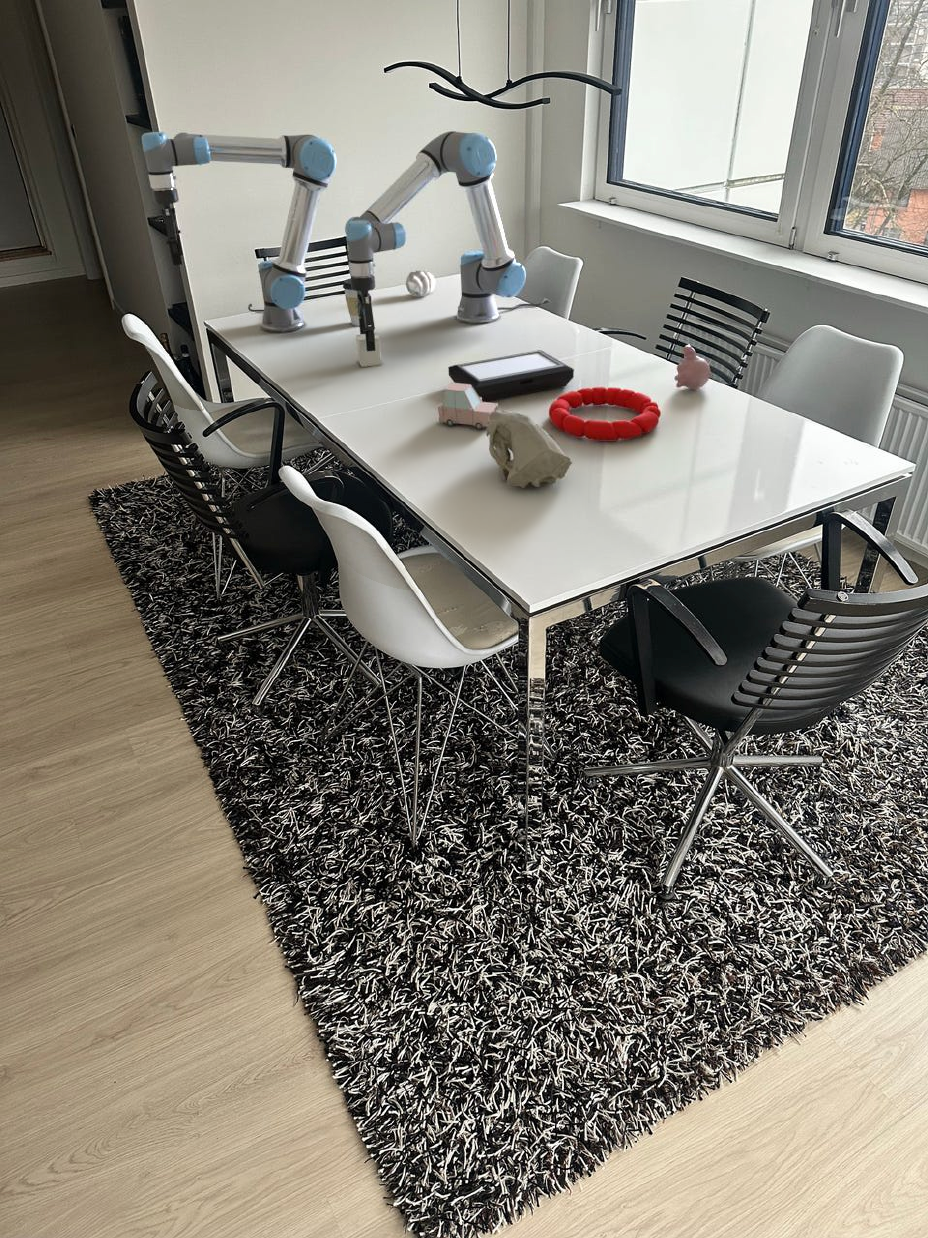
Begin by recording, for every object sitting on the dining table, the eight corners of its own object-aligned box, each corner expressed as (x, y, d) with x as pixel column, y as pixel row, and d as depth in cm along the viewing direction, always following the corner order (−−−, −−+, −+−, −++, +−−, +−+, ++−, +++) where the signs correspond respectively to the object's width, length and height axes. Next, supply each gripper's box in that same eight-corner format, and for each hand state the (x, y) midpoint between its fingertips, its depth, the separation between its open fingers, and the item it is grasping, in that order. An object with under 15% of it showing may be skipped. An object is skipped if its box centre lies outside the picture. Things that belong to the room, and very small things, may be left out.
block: (361, 366, 287) (358, 339, 282) (358, 361, 292) (356, 334, 287) (381, 364, 289) (379, 337, 284) (378, 359, 293) (376, 332, 288)
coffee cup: (372, 326, 323) (368, 283, 314) (345, 327, 323) (340, 284, 315) (374, 318, 331) (371, 276, 322) (348, 319, 331) (344, 277, 323)
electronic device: (476, 384, 253) (448, 364, 268) (476, 405, 256) (449, 384, 271) (574, 366, 263) (541, 347, 278) (573, 386, 266) (541, 367, 281)
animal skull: (496, 517, 219) (521, 479, 201) (463, 429, 225) (484, 384, 207) (557, 503, 225) (586, 465, 206) (523, 417, 231) (549, 373, 212)
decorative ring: (589, 435, 224) (684, 402, 234) (527, 398, 247) (617, 369, 256) (589, 461, 229) (683, 427, 238) (529, 422, 251) (617, 393, 260)
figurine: (665, 387, 264) (669, 347, 257) (693, 380, 268) (698, 340, 261) (686, 396, 257) (690, 355, 250) (714, 388, 262) (720, 348, 255)
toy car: (488, 432, 240) (488, 396, 234) (436, 426, 244) (434, 390, 239) (499, 419, 247) (499, 384, 241) (448, 413, 252) (447, 379, 246)
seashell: (399, 296, 356) (397, 270, 350) (432, 290, 362) (431, 264, 356) (410, 301, 348) (409, 275, 343) (444, 295, 354) (443, 269, 349)
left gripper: (175, 194, 269) (189, 267, 281) (177, 181, 289) (190, 250, 301) (149, 195, 268) (165, 269, 280) (153, 183, 288) (167, 252, 300)
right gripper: (380, 284, 265) (385, 354, 277) (368, 265, 285) (373, 332, 297) (355, 286, 264) (361, 357, 276) (345, 267, 284) (351, 334, 296)
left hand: (178, 259), depth 290 cm, fingers open, 13 cm apart
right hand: (367, 344), depth 286 cm, fingers open, 13 cm apart
